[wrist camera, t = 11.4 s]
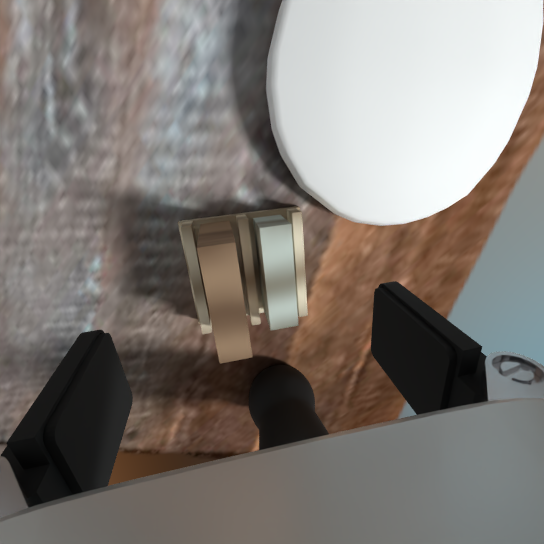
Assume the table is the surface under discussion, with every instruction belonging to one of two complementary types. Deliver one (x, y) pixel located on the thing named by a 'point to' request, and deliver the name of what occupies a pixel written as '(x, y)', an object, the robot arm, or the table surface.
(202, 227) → the board
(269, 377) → the cola bottle
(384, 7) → the plate
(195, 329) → the table surface
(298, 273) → the rack
